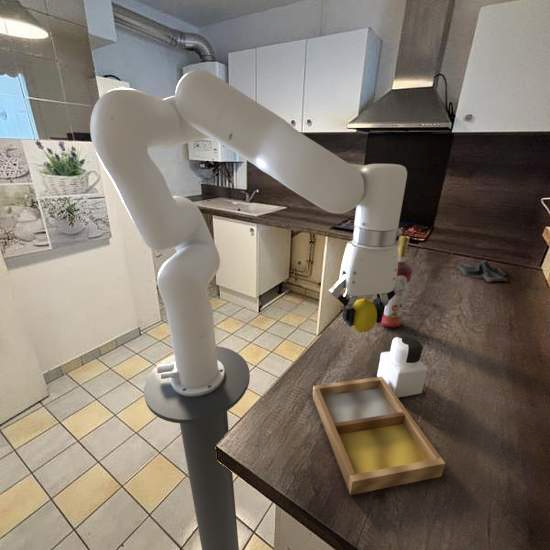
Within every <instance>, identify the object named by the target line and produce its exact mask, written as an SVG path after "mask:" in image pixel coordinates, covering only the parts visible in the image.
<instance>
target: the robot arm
mask: <svg viewBox="0 0 550 550" xmlns="http://www.w3.org/2000/svg"><path fill="white" fill-rule="evenodd" d="M174 94H175V95H171V96H169V97H165V98H160V97H157V96H156V95H155V96H154V95H153V94H150V93H147V92H144V91H141V90H138V89H134V88H127V87H126V88H125V87H119V88H113V89H111V90H108V91H107V92H105V93H103V94H102V96H100V97H99V98H98V99H97V101H96V103H95V104H94V106H93V109H92V112H91V115H90V122H89V132H90V139H91V144H92V146H93V149H94V151H95V155H96V156H97V158H98V160H99V162H100V164H101V165H102V167H103V169H104V170H105V172H106V173H107V175H108V177H109V178H110V181H111V182H112V184H113V185H114V187H115V189H116V191H117V193H118V194H119V197H120V199H121V201H122V203H123V205H124V207H125V209H126V212H127V213H128V215H129V217H130V219H131V221H132V223H133V225H134V227H135V228H136V230H137V232H138V234H139V236H140V238H141V239H142V241H143V243H144V244H145V245H146V246H147V247H148V248H149V249H150V250H152V251H155V252H160V253H162V252H169V251H171V250H173V249H175V251H176V252H175V253H174V254H173V255H172V256H170V257H169V258H168V259H166V261H164V263H163V264H162V265H161V266H160V268H159V271H158V273H157V278H156V284H157V289H158V293H159V294H160V297H161V300H162V303H163V305H164V308H165V312H166V317H167V323H168V328H169V334H170V340H171V346H172V351H173V354H174V359H175V362H172V363H171V364H162V365H158V364H157V365H158V366H157V365H156V366H157V372H158V373H161V379H165V378H171V384H172V387H173V389H174V390H175V391H176V392H177V393H179V394H181V395H184V396H193V397H194V396H201V395H204V394H207V393H209V392H211V391H213V390H215V389H216V388H217V387H218V386H219V385H220V384H221V383H222V381H223V380H224V377H225V369H224V366H223V364H222V363H221V362H220V361H218V360H217V352H216V346H217V344H216V333H215V331H216V330H215V322H214V313H213V308H212V302H211V300H210V297H209V294H208V287H209V285H210V283H211V282H212V280H213V279H214V277H215V276H216V275H217V274H218V272H219V270H220V267H221V258H220V257H221V256H220V254H219V253H220V252H219V250H218V247H217V245H216V243H215V241H214V238H213V235H212V234H211V231H210V230H209V229H210V228H209V227H208V225H207V222H206V220H205V217H204V215H203V213H202V212H201V210H200V209H199V207H198V206H197V204H195V202H194V201H192V200H191V199H189V198H187V197H185V196H182V195H173V194H172V192H171V190H170V189H169V186H168V183H167V181H166V179H165V177H164V175H163V172H162V171H161V170H160V168H159V167H158V165H157V163H155V162H154V160H153V159H152V158H151V156H150V153H149V152H148V148H152V149H157V148H158V149H169V148H174V147H178V146H183V145H186V144H189V143H193V142H198V141H200V140H201V141H202V140H205V139H209V138H210V139H212V140H214V141H215V142H217V143H219V144H220V145H221V146H223V147H225V148H227V149H228V150H230V151H232V152H233V153H234V154H236V155H237V156H239V157H241V158H243V159H244V160H246V161H247V162H249V163H250V164H252V165H254V166H255V167H256V168H257V169H259V170H260V171H261V172H263V173H265V174H267V175H268V176H271V177H272V178H273V179H274V180H276V181H278V183H280V184H282V185H283V186H285V187H286V188H288V189H289V190H291V191H292V192H293V193H296V194H297V195H299V196H300V197H302V198H304V199H305V200H307V201H308V202H310V203H312V204H313V205H315V206H316V207H318V208H320V209H321V210H323V211H326V212H328V213H331V214H340V215H341V214H345V213H348V212H350V211H352V210H353V209H355V215H354V223H353V224H354V225H353V233H352V240H349V241H347V243H346V246H345V249H344V253H343V256H342V260H341V266H340V270H339V275H338V280H337V281H336V282H335V283H334V284H333V285H332V286H331V287H330V288H329V290H328V291H329V293H330V294H331V296H333V297H334V298H336V299H337V300H338V301H339V302H340V303H341V304H342V305H343V306H342V314H341V315H342V316H341V317H342V321H344V322H345V323H346V324H347V326H348V327H352V326H353V322H354V314H355V309H354V308H353V305H354V303H355V301H357V300H358V297H362V296H375V298H374V299H373V301H372V303H373V304H374V305H375V307H376V309H377V321H376V324H377V323H378V324H381V322H382V317H383V315H384V309H385V306H386V305H388V303H389V300H390V299H391V298H392V297H394V295H395V293H397V292H398V291H399V290H401V289H402V288H403V285H402V284H401V282H400V281H399V280H398V279H397V270H398V243H396V242H397V238H398V237H399V236H403V229H402V228H399V225H400V219H401V213H402V207H403V201H404V195H405V190H406V184H407V178H408V170H407V168H406V166H404V165H402V164H397V163H396V164H395V163H370V164H355V163H349V162H348V161H345V160H344V159H342V158H341V157H339V156H338V155H336V154H335V153H333V152H331V151H330V150H328V149H327V148H325V147H324V146H323V145H321V144H319V143H317V142H316V141H315V140H313V139H311V138H310V137H308V136H306V135H305V134H303V133H302V132H300V131H299V130H298V129H296V128H295V127H293V126H292V125H291V124H290V123H289V122H288V121H287V120H285V119H284V118H283V117H281V116H279V115H278V114H277V113H275V112H273V111H272V110H270V109H268V108H267V107H265V106H263V105H262V104H260V102H258V101H256V100H255V99H253V98H251V97H250V96H248V95H247V94H245V93H243V92H242V91H240V90H239V89H238V88H237V87H236V88H235V87H234V86H233V85H231V84H229V83H228V82H226V81H225V80H223V79H222V78H220V77H218V76H217V75H215V74H213V73H211V72H209V71H207V70H203V69H195V70H194V69H193V70H191V71H188V72H187V73H185V74H184V75H183V76H182V77H181V78H180V79H179V81H178V83H177V85H176V88H175V93H174ZM344 289H345V292H344V294H342V292H341V291H342V290H344ZM169 371H171V372H169Z"/></svg>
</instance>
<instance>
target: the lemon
mask: <svg viewBox="0 0 550 550" xmlns="http://www.w3.org/2000/svg"><path fill="white" fill-rule="evenodd" d="M353 308H354V309H355V314H354V322H353V326H351V327H352V328H353V330H355V331H356V332H358V333H359V334H362V333H367V332H369V331H371V330H372V329H374V327H375V326H376V324H377V322H376V321H377V309H376V307H375V305H374V304H373V301H371V300H370V299H367V297H364V298H359V299H356V301H355V303H354V305H353Z"/></svg>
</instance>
